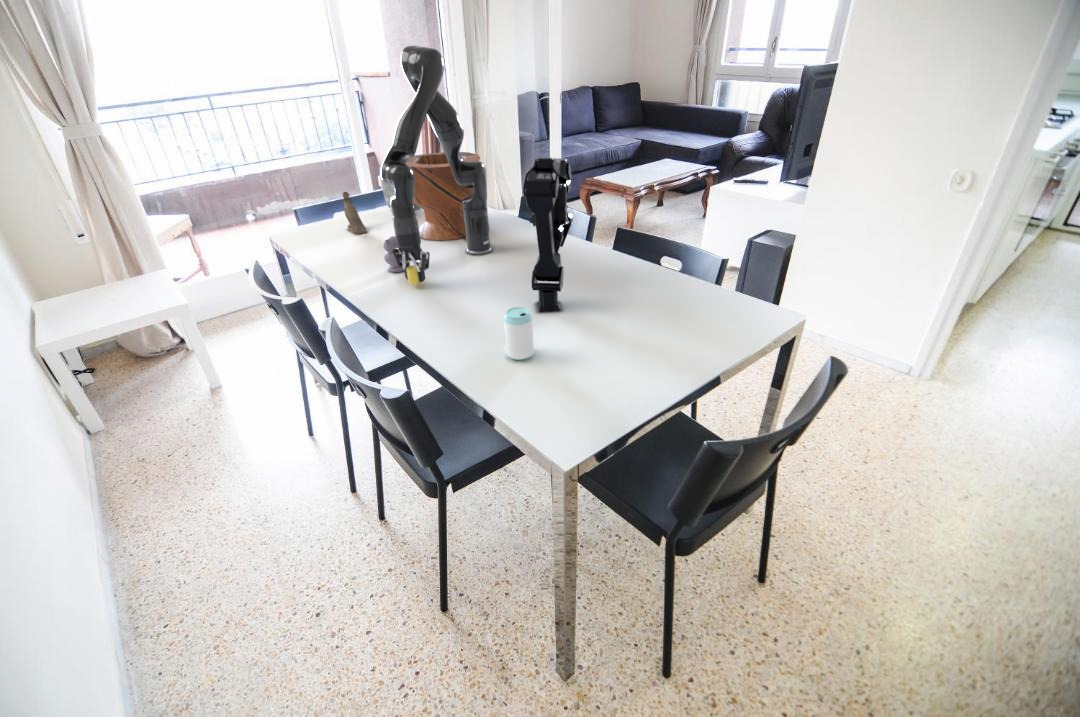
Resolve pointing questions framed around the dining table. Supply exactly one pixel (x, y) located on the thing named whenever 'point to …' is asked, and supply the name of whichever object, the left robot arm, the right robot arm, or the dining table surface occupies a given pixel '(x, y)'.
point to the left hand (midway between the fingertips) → (415, 279)
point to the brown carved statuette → (352, 216)
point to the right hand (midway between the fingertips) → (558, 251)
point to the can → (519, 333)
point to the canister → (412, 275)
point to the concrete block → (390, 193)
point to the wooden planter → (439, 195)
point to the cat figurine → (391, 254)
